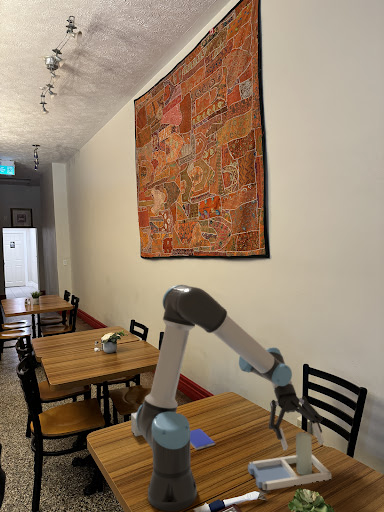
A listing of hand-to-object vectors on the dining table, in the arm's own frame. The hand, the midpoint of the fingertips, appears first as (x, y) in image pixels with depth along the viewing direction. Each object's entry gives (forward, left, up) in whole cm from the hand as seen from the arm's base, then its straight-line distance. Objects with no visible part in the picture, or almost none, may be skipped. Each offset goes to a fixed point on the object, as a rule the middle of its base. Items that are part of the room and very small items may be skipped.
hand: (304, 446), depth 124 cm
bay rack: (-6, +2, -7) cm, 10 cm away
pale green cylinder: (-2, -1, -8) cm, 8 cm away
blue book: (-13, +39, -8) cm, 42 cm away
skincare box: (-26, +61, -8) cm, 67 cm away
